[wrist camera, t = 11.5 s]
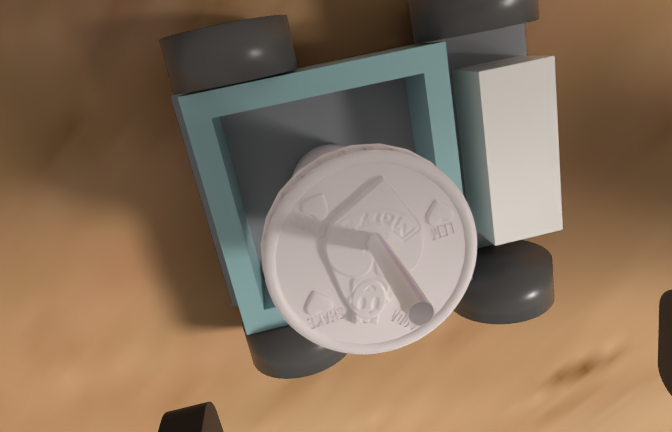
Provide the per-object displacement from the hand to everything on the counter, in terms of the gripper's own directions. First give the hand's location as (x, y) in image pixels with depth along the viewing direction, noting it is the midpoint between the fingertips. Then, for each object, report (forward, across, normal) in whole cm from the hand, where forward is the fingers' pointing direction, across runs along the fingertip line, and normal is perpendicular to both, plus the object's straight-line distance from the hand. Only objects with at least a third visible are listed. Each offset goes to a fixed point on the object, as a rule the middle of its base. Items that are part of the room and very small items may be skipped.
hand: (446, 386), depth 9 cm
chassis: (+17, -2, 0) cm, 17 cm away
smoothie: (+16, 0, 0) cm, 16 cm away
